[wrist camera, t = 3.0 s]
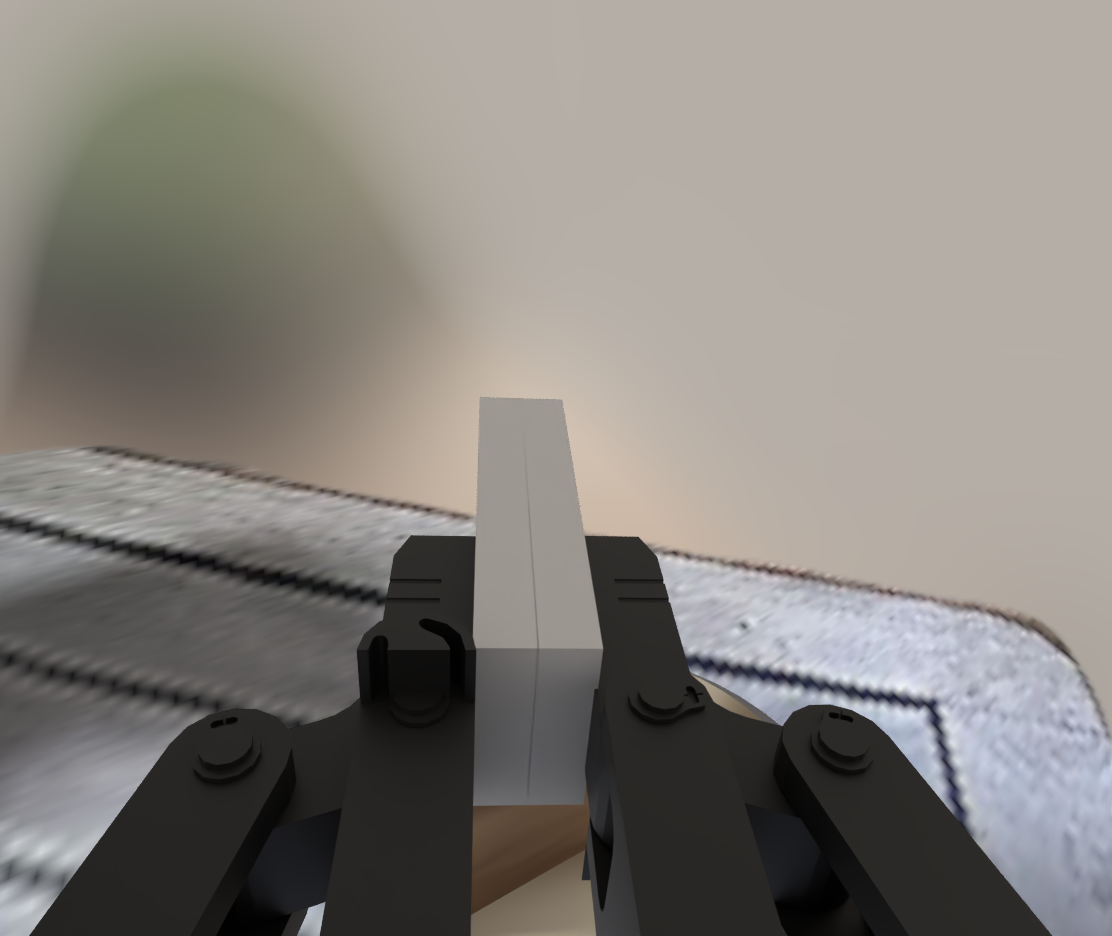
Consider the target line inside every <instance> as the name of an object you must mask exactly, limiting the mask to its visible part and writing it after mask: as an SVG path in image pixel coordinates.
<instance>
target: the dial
mask: <svg viewBox="0 0 1112 936" xmlns="http://www.w3.org/2000/svg"><path fill="white" fill-rule="evenodd" d="M692 676H693V675H692ZM693 677H695V676H693ZM695 678H696V679H697V680H698V681H699V682H700V683H702V684H703V685H704V686H705V687H706V689H707V691H708V692H709V694H710V696H711V698H712V699H713V701H714V702H715V703H716V704H718V705H720V706H722V707H724V708H725V709H727V710H729V711H731V712H734V713H737V714H740V715H743V716H745V717H749V718H753V719H756V720H760V721H762V720H761V719H760V718H758V717H757V716H756V715H755V714H754V713H752V712H751V711H750V710H749V709H748V708H746V707H745V706H744V705H743V704H741V703H740V702H738V701H737V700H735V699H734V698H732V697H731V696H730V695H728V694H727V693H725V692H724V691H722V690H720V689H718V688H717V687H715V686H713V685H711V684H709V683H708V682H706V681H704V680H702V679H700V678H698V677H695ZM589 818H590V811H589V802H588V793H587V785H586V790H585V798H584V804H578V805H502V806H473V844H472V896H471V936H596V928H595V919H594V910H593V900H592V891H591V881H590V880H582V872H583V863H584V856H585V848H586V841H587V833H588V825H589Z"/></svg>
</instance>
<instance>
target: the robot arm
mask: <svg viewBox="0 0 1112 936" xmlns="http://www.w3.org/2000/svg"><path fill="white" fill-rule="evenodd" d="M478 445H479V447H478V479H477V513H476V536H414V535H411V536H410V537H409V538H408V540H407V541H406V542H405V543H404V544H403V545H402V547H401V548H400V549H399V550H398V551H397V552H396V554H395V555H394V558H393V564H392V570H391V576H390V583H389V588H388V594H387V603H386V605H385V611H384V617H383V620H382V621H380V622H378V623H377V624H376V625H375V626H374V627H372V628H371V629H370V630H369V631H368V632H366V633H365V634H364V636H363V638H362V640H361V642H360V644H359V646H358V648H357V659H358V673H359V687H360V698H359V699H358V700H357V701H356V702H354V703H353V704H352V705H351V706H350V707H348V708H346V709H345V710H343V711H341V712H339V713H338V714H336V715H334V716H331V717H328V718H326V719H323V720H320V721H317V722H313V723H309V724H305V725H302V726H298V727H294V728H290V729H287V728H286V727H285V726H284V725H283V724H282V723H281V721H280V720H279V719H278V718H277V717H276V716H273V715H270V714H268V713H265V712H262V711H260V710H257V709H231V710H227V711H223V712H219V713H215V714H211V715H208V716H206V717H205V718H203V719H201V720H199V721H197V722H195V723H194V724H192V725H190V726H188V727H187V728H186V729H185V730H184V731H183V732H182V733H181V734H180V735H179V736H178V737H176V738H175V739H174V740H173V741H172V742H171V743H170V745H169V746H168V747H167V749H166V750H165V751H164V753H163V754H162V756H161V757H160V758H159V760H158V761H157V762H156V764H155V765H154V766H153V768H152V769H151V770H150V772H149V773H148V775H147V776H146V777H145V779H144V780H143V781H142V783H141V784H140V785H139V787H138V788H137V790H136V791H135V792H134V794H133V795H132V796H131V798H130V799H129V800H128V802H127V803H126V805H125V806H124V807H123V809H122V810H121V811H120V813H119V814H118V815H117V817H116V818H115V820H114V821H113V822H112V824H111V825H110V826H109V828H108V829H107V830H106V832H105V833H104V835H103V836H102V837H101V839H100V840H99V841H98V843H97V844H96V845H95V847H94V848H93V850H92V851H91V852H90V854H89V855H88V856H87V858H86V859H85V860H84V862H83V863H82V864H81V866H80V867H79V869H78V870H77V871H76V873H75V874H74V875H73V877H72V878H71V879H70V881H69V882H68V884H67V885H66V886H65V888H64V889H63V890H62V892H61V893H60V894H59V896H58V897H57V899H56V900H55V901H54V903H53V904H52V905H51V907H50V908H49V909H48V911H47V912H46V914H45V915H44V916H43V918H42V919H41V920H40V922H39V923H38V924H37V926H36V927H35V929H34V930H33V931H32V933H31V934H30V935H29V936H297V934H298V932H299V930H300V927H301V925H302V923H303V921H304V919H305V916H306V914H307V911H308V908H309V907H312V906H315V905H318V904H320V903H323V902H326V903H325V909H324V914H323V920H322V926H321V931H320V936H471V896H472V844H473V806H502V805H578V804H584V798H585V790H586V785H587V793H588V802H589V811H590V818H589V825H588V833H587V841H586V848H585V856H584V863H583V872H582V880H590V881H591V891H592V900H593V910H594V919H595V928H596V936H1052V935H1051V934H1050V932H1049V931H1048V930H1047V929H1046V928H1045V926H1044V925H1043V924H1042V923H1041V921H1040V920H1039V919H1038V918H1037V917H1036V915H1035V914H1034V913H1033V912H1032V911H1031V909H1030V908H1029V907H1028V906H1027V904H1026V903H1025V902H1024V901H1023V900H1022V898H1021V897H1020V896H1019V895H1018V893H1017V892H1016V891H1015V890H1014V889H1013V887H1012V886H1011V885H1010V884H1009V882H1008V881H1007V880H1006V879H1005V878H1004V876H1003V875H1002V874H1001V873H1000V871H999V870H998V869H997V868H996V867H995V865H994V864H993V863H992V862H991V860H990V859H989V858H988V857H987V856H986V854H985V853H984V852H983V851H982V849H981V848H980V847H979V846H978V845H977V843H976V842H975V841H974V840H973V838H972V837H971V836H970V835H969V834H968V832H967V831H966V830H965V829H964V827H963V826H962V825H961V824H960V823H959V821H958V820H957V819H956V818H955V816H954V815H953V814H952V813H951V812H950V810H949V809H948V808H947V807H946V805H945V804H944V803H943V802H942V801H941V799H940V798H939V797H938V796H937V794H936V793H935V792H934V791H933V790H932V788H931V787H930V786H929V785H928V783H927V782H926V781H925V780H924V779H923V777H922V776H921V775H920V774H919V772H918V771H917V770H916V769H915V768H914V766H913V765H912V764H911V763H910V762H909V760H908V759H907V758H906V757H905V755H904V754H903V753H902V752H901V751H900V749H899V748H898V747H897V746H896V744H895V743H894V742H893V741H892V740H891V738H890V737H889V736H888V735H887V734H886V733H885V732H884V731H882V730H881V729H880V728H879V727H878V726H877V725H876V724H875V723H874V722H873V721H871V720H869V719H867V718H865V717H864V716H862V715H860V714H858V713H856V712H854V711H852V710H849V709H845V708H841V707H837V706H833V705H808V706H806V707H804V708H801V709H799V710H797V711H794V712H793V713H792V714H791V715H790V717H789V718H788V719H787V721H786V722H785V723H784V725H783V726H780V725H776V724H772V723H768V722H764V721H760V720H756V719H753V718H749V717H745V716H743V715H740V714H737V713H734V712H731V711H729V710H727V709H725V708H724V707H722V706H720V705H718V704H716V703H715V702H714V701H713V699H712V698H711V696H710V694H709V692H708V691H707V689H706V687H705V686H704V685H703V684H702V683H700V682H699V681H698V680H697V679H696V678H695V677H693V676H692V675H691V673H690V671H689V668H688V664H687V661H686V657H685V654H684V650H683V647H682V643H681V640H680V636H679V633H678V629H677V626H676V622H675V619H674V615H673V612H672V608H671V605H670V603H669V597H668V594H667V590H666V587H665V584H663V576H662V573H661V569H660V566H659V562H658V559H657V556H656V555H655V554H654V553H653V552H652V551H651V550H650V549H649V548H648V547H647V546H646V545H645V543H644V542H643V541H642V540H641V539H640V538H639V537H617V536H585V535H584V529H583V523H582V517H581V511H580V505H579V499H578V493H577V487H576V481H575V475H574V469H573V463H572V457H571V451H570V445H569V439H568V433H567V426H566V421H565V414H564V408H563V402H562V400H555V399H554V400H553V399H523V398H490V397H480V409H479V444H478Z"/></svg>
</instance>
